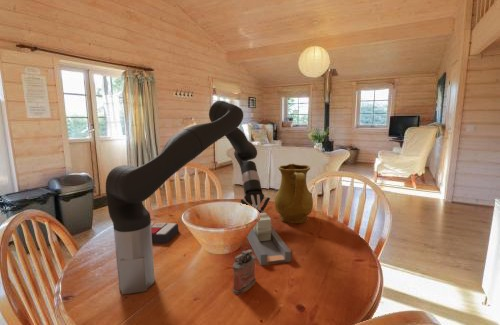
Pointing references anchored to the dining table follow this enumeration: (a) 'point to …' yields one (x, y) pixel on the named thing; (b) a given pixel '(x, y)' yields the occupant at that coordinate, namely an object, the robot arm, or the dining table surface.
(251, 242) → the chute
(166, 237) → the dark box
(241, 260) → the lighter
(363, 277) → the dining table surface
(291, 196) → the pitcher
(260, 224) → the block
